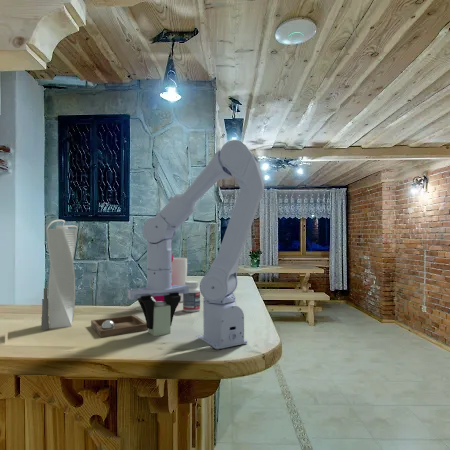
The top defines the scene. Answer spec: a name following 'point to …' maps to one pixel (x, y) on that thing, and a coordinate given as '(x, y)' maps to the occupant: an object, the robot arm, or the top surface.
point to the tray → (119, 325)
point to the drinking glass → (179, 272)
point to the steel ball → (108, 325)
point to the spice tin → (161, 319)
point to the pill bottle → (191, 297)
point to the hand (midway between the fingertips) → (159, 326)
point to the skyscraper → (60, 278)
